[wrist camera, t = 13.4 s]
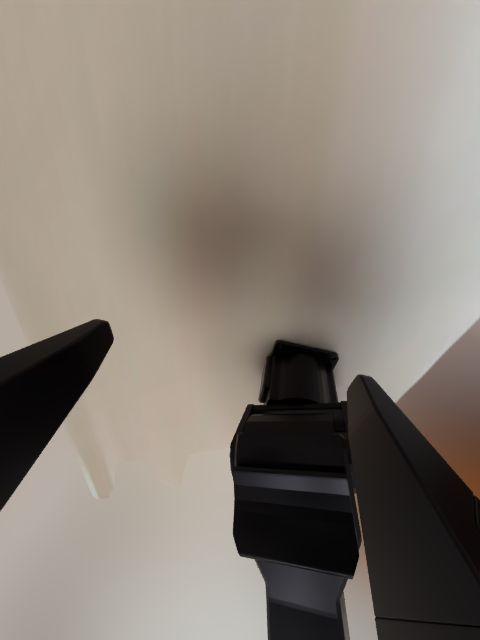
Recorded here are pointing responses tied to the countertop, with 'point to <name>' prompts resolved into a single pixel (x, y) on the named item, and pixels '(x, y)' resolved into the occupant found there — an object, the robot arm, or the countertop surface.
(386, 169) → the countertop surface
